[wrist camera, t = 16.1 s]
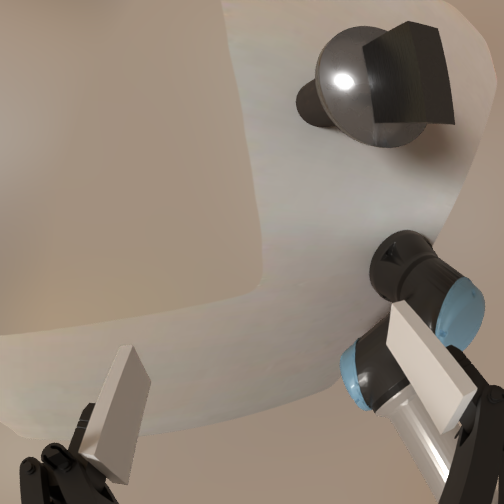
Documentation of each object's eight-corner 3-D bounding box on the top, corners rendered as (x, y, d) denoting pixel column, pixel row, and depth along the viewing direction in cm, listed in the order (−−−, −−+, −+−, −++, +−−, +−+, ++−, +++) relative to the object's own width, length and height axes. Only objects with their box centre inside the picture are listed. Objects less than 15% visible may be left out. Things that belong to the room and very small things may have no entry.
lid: (413, 38, 21) (470, 17, 12) (429, 146, 26) (492, 157, 17) (304, 27, 21) (337, -17, 12) (324, 150, 26) (370, 159, 17)
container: (354, 105, 42) (422, 94, 24) (320, 139, 44) (376, 144, 26) (319, 69, 40) (371, 33, 21) (283, 103, 42) (317, 80, 23)
